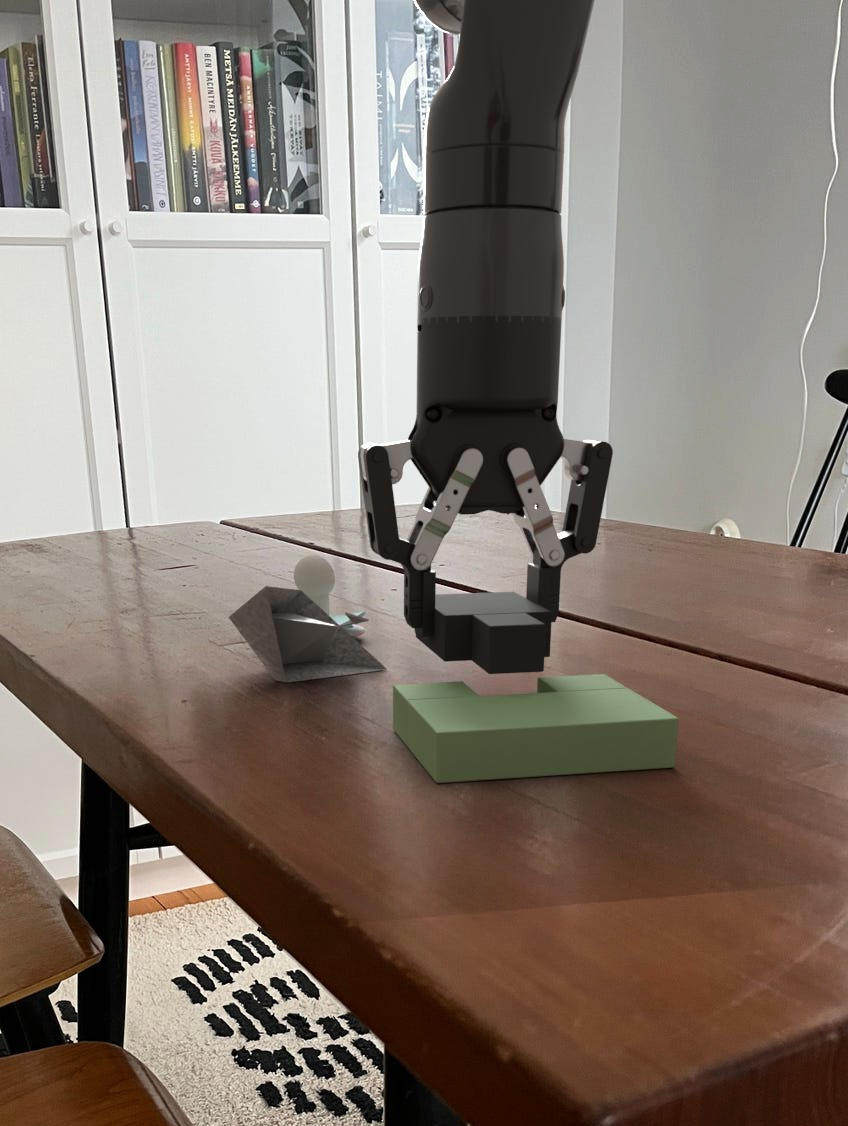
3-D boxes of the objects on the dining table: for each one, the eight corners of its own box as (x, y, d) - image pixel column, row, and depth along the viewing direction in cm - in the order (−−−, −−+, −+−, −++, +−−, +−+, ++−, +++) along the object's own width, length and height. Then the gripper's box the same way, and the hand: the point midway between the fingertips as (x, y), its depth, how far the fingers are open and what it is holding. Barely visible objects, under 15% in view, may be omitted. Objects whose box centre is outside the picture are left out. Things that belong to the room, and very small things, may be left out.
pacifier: (285, 631, 96) (259, 644, 91) (283, 547, 94) (256, 555, 89) (378, 635, 94) (357, 648, 89) (378, 549, 92) (356, 557, 87)
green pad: (602, 717, 71) (604, 673, 70) (675, 768, 61) (679, 718, 61) (392, 729, 69) (392, 684, 68) (436, 783, 59) (436, 732, 59)
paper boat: (322, 636, 87) (430, 612, 82) (309, 722, 86) (419, 704, 80) (199, 558, 78) (311, 525, 73) (183, 653, 77) (296, 627, 71)
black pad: (512, 633, 76) (514, 591, 75) (571, 670, 66) (574, 623, 65) (415, 637, 75) (415, 594, 74) (460, 675, 65) (461, 627, 64)
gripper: (595, 316, 70) (578, 617, 76) (341, 315, 68) (344, 626, 74) (647, 309, 64) (624, 641, 69) (367, 308, 61) (368, 652, 67)
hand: (480, 632), depth 72 cm, fingers closed on black pad, 6 cm apart
